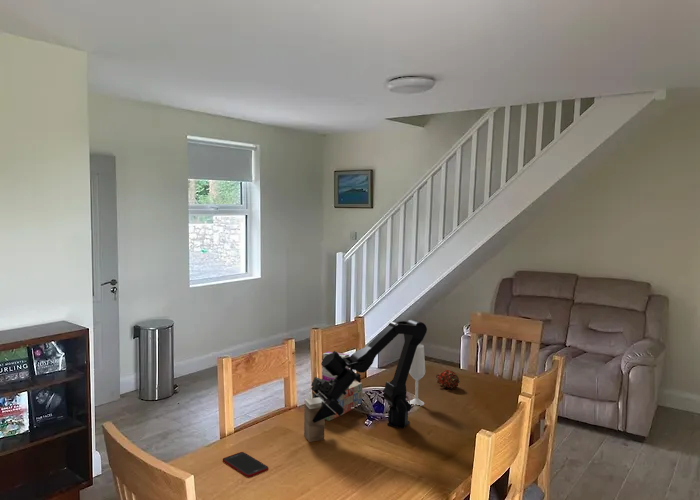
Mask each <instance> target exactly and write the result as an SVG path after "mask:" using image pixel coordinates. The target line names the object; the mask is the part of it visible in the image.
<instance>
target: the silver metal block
mask: <svg viewBox="0 0 700 500" xmlns="http://www.w3.org/2000/svg"><path fill="white" fill-rule="evenodd" d="M322 402H324V401H323V400H322V399H321V398H320V397H318V398H312V397H311V398H305V399H304V414H303V416H304V417H303V420H304V421H303V422H304V423H303V424H304V425H303V436H304V437H305V439H306V440H307V441H308V442H309V443H310V442H316V441H323V440H325V425H326V424H325V422H326V421H325V418H324V419H322V420H320V421H317V422H315V423H314V422H313V421H312V420H313V419H314V417H315V416H316V414H317V413H318V411H319V410H320V409H321V406H322ZM324 403H325V402H324Z"/></svg>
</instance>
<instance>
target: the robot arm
mask: <svg viewBox="0 0 700 500" xmlns="http://www.w3.org/2000/svg"><path fill="white" fill-rule="evenodd" d="M427 327H428V326H427V325H426V324H425V323H424V322H422V321H420V320H417V319H415V318H411V319H408V320H399V321H395V320H393V321H390V322H389V323H388V325H387V326H386V327H385V328H384V329H383V330H382V331H381V332H380V333H379V334H378V335H377V336H376V337H375V338H374V339H372V341H370V343H369V344H367V345H366V346H364V347H362V348H360V349H358V350H356V351H355V352H354V353H352V354H351V355H349V357H346V358H341V357H340V355H339V354H338V353H339V352H337V351H336V350H334V351H333V353H331V354H329V355H327V356H325V357H324V359H323V360H322V359H321V367H322V366H323V367H324V368H325V369H326V370H327V371H328V372H329V373H330V374H331V375H332V376H336V375H337V376H336V377H335V379H334V380H332V379H330V380H329V381H325V380H322V378H320V377H317V376H314V377H313V380H312V382H311V385H310V386H311V387H310V389H311V391H313V392H312V395H313V398H318V397H320V398H321V399H322V400H323V401H326V402H325V403H326V404H325V403H324V402H322V406H321V409H320V410H319V411H318V413H317V414H316V416H315V417H314V419H313V420H312V421H313V422H314V423H315V422H317V421H320V420H322V419H324V418H326V417H329V416H331V415H336V414H335V412H336V413H337V414H338V415H339V416H338V417H341V416H342V414H343V412H344V408H343V407H342V406H341V405H340V404H338V403H339V402H338V401H337V400H338V399H339V398H340V397H341V396H342V394H344V395H346V392H345V391H346V390H347V389H348V387H349V386H350V385H351V384H352V383H353V382H354V381H356V382H359V383H362V379H361V374H363V373H365V372H367V371H368V370H369V369H370V368H371V366H372V365H373V363H374V361H375V358H376V357H377V356H378V354H380V352H382V351H383V350H384V349H385V348H386V347H387V346H388V345H389V344H390V343H391V342H392V341H393V340H394V339H395V338H396V337H397V336H398V335H403V339H404V340H403V341H404V342H403V346H402V350H401V353H400V356H399V358H398V362H397V366H396V369H395V371H394V374H393V375H394V376H393V378H392V379H391V381H390V382H389V381H386V382H385V384H384V385H385V386H384V388H383V390H382V392H383V397H384V400H385V401H386V402H387V404H388V406H389V410H387V412H388V413H387V415H388V416H387V422H388V423H387V425H388V426H390V427H396V428H399V429H405V428H406V427H407V426H408V425H409V424H410V423H411V422H410V420H409V412H410V411H411V408H412V405H411V404H410V403H408V402H409V401H408V400H407V399H406V397H407V393H408V392H407V381H408V377H409V375H410V373H409V371H410V368H411V364H412V361H413V358H414V355H415V352H416V348H417V346H418V345H419V344H420V345H421V343H422V342H423V340H424V338H425V336H426V334H427V330H428V328H427ZM346 366H347V367H349V369H347V368H346ZM355 371H356V372H357V373H356V372H355ZM343 415H344V414H343Z"/></svg>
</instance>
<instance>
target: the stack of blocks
mask: <svg viewBox="0 0 700 500" xmlns="http://www.w3.org/2000/svg"><path fill="white" fill-rule="evenodd" d="M345 392H346V395H344V394H342V396H341V397H340V398H339V399H338V400H337V401H338V402H339V403H338V404H340V405H341V406H342V407H343V408H344V412H343V414H342V415H344V414H346V413H348V412H350V411H352V410H351V407H355V406H356V405H358V404H361V403H362V404H363V383H362V382H360V383H359V382H358V381H356V380H354V382H353V383H352V384H351V385H350V386H349V387H348V389H347V390H346V391H345ZM324 402H326V401H324ZM325 404H326V403H325ZM335 414H336V415H331V416H329V417H326V418H325V420H326V421H328V422H329V421H331V420H333V419H337V418H339V417H340V416H339V415H338V414H337V413H336V412H335ZM342 415H341V416H342Z"/></svg>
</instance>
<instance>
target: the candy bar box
mask: <svg viewBox="0 0 700 500" xmlns="http://www.w3.org/2000/svg"><path fill="white" fill-rule="evenodd" d="M333 352H334V351H333ZM333 352H332V351H325V352H324V353H322V355H321V357H322V358H321V361H322V360H323V359H324V357H325V356H327V355H329V354H331V353H333ZM337 353H338V354H339V355H340V357H341V358H346V357H350V354H347V353H340V352H337ZM346 368H347V369H350V368H349V367H347V366H346ZM336 376H337V375H336ZM336 376H332V375H331V374H330V373H329V372H328V371H327V370H326V369H325V368H324V367H323V366H322V365H321V379H322V380H325V381H329V380H330V379H332V380H334V379H335V377H336Z"/></svg>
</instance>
